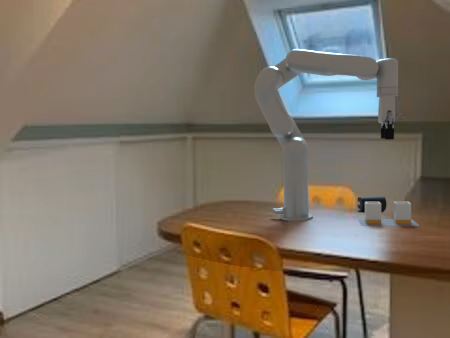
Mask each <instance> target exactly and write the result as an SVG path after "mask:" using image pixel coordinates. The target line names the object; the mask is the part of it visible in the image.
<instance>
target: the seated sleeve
mask: <svg viewBox="0 0 450 338" xmlns="http://www.w3.org/2000/svg"><path fill="white" fill-rule="evenodd" d="M364 219H365V222H366V224H381V219H382V212H381V203H380V202H365V212H364Z"/></svg>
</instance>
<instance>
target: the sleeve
mask: <svg viewBox="0 0 450 338" xmlns="http://www.w3.org/2000/svg"><path fill="white" fill-rule="evenodd" d="M393 219H394V222H395V223H396V224H411V219H412V203H411V202H410V201H407V200H406V201H404V200H403V201H393Z"/></svg>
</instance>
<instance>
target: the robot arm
mask: <svg viewBox="0 0 450 338" xmlns="http://www.w3.org/2000/svg"><path fill="white" fill-rule="evenodd" d="M302 73H303V74H310V75H318V76H324V77H326V76H327V77H333V76H349V77H356V78H357V79H359V80H361V81H370V80H376V98H378V108H377V109H378V111H377V112H378V115H377V122H378V123H379V124H380V139H383V140H394V139H395V125H394V123H395V121H396V97H398V96H399V62H398V59H396V58H394V57H393V58H392V57H390V58H389V57H388V58H383V59H382V58H381V59H378V60H376V59H375V58H374V57H370V56H363V55H356V54H346V53H344V54H343V53H335V52H324V51H317V50H316V51H315V50H308V49H302V48H301V49H300V48H294V49H291V50H290V51H288V53H287V55H286V56H285V58H284V59H282V60H281V61H279V63H277V64H275V65H273V66H272V65H271V66H269V65H268V66H266V67H264V68H263V69H262V70H261V71H260V72H259V73H258V74H257V77H256V80H255V82H254V88H253V90H254V97H255V100H256V103H257V105H258V107H259V110H260V112H261V113H262V115H263V116H264V119H265V120H266V122H267V124H268V126H269V130H270V131H271V133H272V134H273V135H274V136H275V139H276V140H277V141H278V143H279V145H280V147H281V149H282V167H283V168H282V170H283V173H282V174H283V175H282V177H283V207H280V208H275V207H274V208H272V214H276V215H277V214H280V215H279V217H280V218H279V219H280V220H282V221H287V222H303V221H311V220H313V218H314V215H313V214H311V213H310V208H309V207H310V205H309V204H310V203H309V201H310V199H309V197H310V195H309V194H310V193H309V191H310V190H309V147H308V144H307V142H306V139H305V138H304V136H303V134H302V132H301V131H300V129H299V127H298V125H297V123H296V122H295V120H294V118H293V116H291V114H289V112H288V111H287V109H286V107H285V106H284V104H283V102H282V100H281V98H280V96H279V94H278V89H280V88H282V87H283V86H285V85H286V84H287V83H289V82H291V81H292V80H293V79H295V78H296V77H297V76H299V75H300V74H302Z"/></svg>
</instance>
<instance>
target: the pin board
mask: <svg viewBox="0 0 450 338" xmlns="http://www.w3.org/2000/svg"><path fill="white" fill-rule="evenodd" d="M357 220H358V222H359V224H360V225H361V226H362V227H420V225H419V224H418V223H417V222H416V221H415V220H414V219H412V218H411V224H396V223H395V222H394V218H388V219H387V218H381V224H366V222H365V218H358V219H357Z"/></svg>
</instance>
